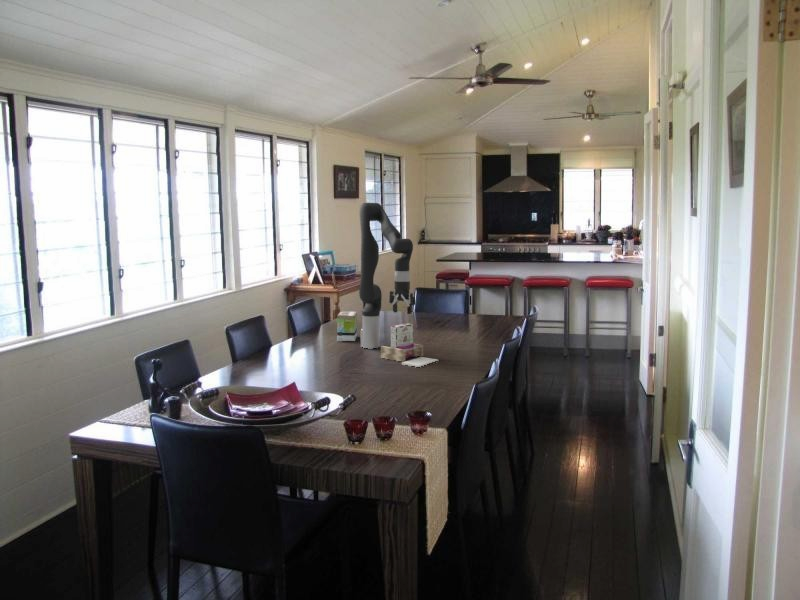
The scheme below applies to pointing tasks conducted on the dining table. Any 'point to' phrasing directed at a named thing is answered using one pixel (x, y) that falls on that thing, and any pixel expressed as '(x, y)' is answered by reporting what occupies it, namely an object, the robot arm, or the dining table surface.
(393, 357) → the dispenser rack
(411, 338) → the candy bar box
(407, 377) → the dining table surface
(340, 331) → the tea box
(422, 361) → the white panel
